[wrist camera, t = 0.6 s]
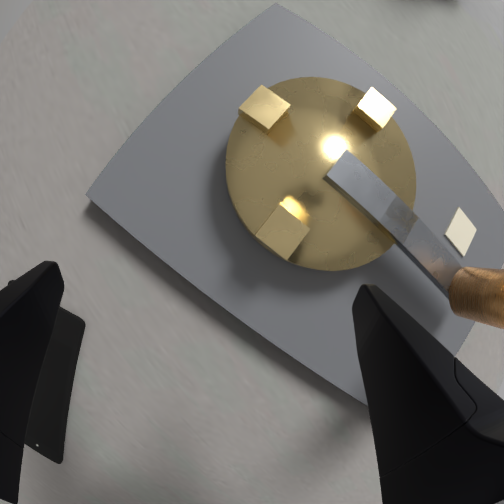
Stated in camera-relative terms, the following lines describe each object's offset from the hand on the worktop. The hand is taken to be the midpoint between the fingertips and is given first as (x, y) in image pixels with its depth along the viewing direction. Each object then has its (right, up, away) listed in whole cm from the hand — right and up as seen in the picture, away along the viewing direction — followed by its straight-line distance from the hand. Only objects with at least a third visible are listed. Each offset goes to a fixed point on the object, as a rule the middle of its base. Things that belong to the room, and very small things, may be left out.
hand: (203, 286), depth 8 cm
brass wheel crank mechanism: (+10, +4, +14) cm, 17 cm away
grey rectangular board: (+9, +4, +15) cm, 19 cm away
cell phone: (-20, -11, +14) cm, 26 cm away
